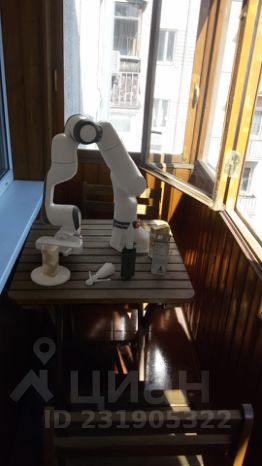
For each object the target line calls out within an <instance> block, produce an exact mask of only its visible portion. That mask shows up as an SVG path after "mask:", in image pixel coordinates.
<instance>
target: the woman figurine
mask: <svg viewBox="0 0 262 466" xmlns="http://www.w3.org/2000/svg"><path fill="white" fill-rule="evenodd" d="M116 266H117V264H116V263H114V265H113V263H112V262H105V263H104V264H103V265H102V267H101V268H99V270H98V271H97V272H96V273H95V274H92V275H91V271H90V270H88V274H89V279H87V280H86V281H85V285H86V286H93V283H98V282H105V281H106V282H107V281H109V282H110V281H111V278H110V277H109V278H107V279H102V278H106V277H108V276H110V275H113V274H115V272H116Z"/></svg>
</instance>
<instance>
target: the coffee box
mask: <svg viewBox="0 0 262 466" xmlns="http://www.w3.org/2000/svg"><path fill="white" fill-rule="evenodd" d="M171 236H172V235H171V234H170V233H169V234H163V233H157V234H156V237H155V240H154V247H153V257H152V258H151V259H152V260H151V269H150V273H151V274H154V275H159V276H160V275H161V276H166V273H167V267H168V263H169V254H170V245H171Z"/></svg>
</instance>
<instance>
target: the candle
mask: <svg viewBox="0 0 262 466" xmlns="http://www.w3.org/2000/svg"><path fill="white" fill-rule="evenodd" d="M133 240H134V228H133V226H132V222H130V226H129V227H128V229H127V239H126V246H124V248H123V249H122V252H121V261H120V273H119V277H120V278H123V279H126V280H131V279H132V278H133V277H135V271H136V260H137V253H136V248H135V247H134V246H133Z"/></svg>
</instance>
